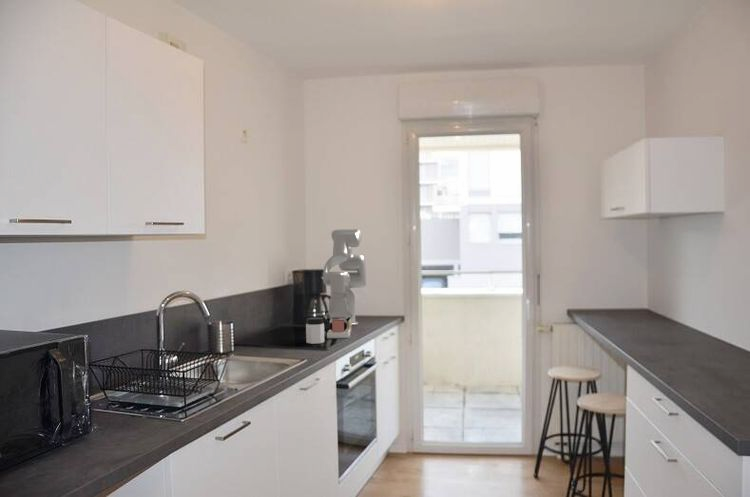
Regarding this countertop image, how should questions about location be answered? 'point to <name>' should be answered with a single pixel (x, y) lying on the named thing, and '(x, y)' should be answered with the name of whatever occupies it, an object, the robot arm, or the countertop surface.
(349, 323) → the beech block wide bore
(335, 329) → the red block small bore
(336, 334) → the tray
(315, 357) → the countertop surface
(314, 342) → the jar
